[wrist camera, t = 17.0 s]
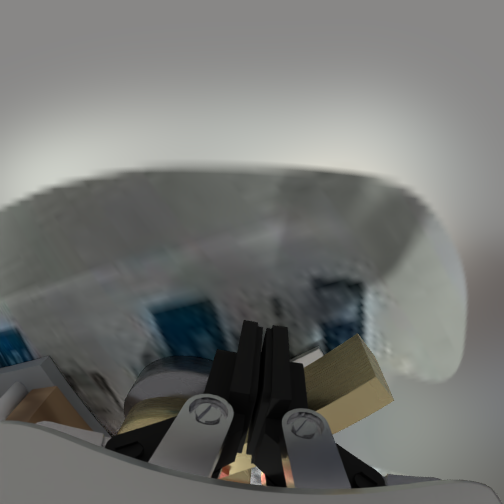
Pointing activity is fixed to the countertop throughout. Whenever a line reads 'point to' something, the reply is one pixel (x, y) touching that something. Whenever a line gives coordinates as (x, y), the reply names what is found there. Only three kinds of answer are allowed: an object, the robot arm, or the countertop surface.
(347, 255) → the countertop surface
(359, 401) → the gold lever handle
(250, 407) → the robot arm
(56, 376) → the rack
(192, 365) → the base
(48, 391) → the tan wooden bar
